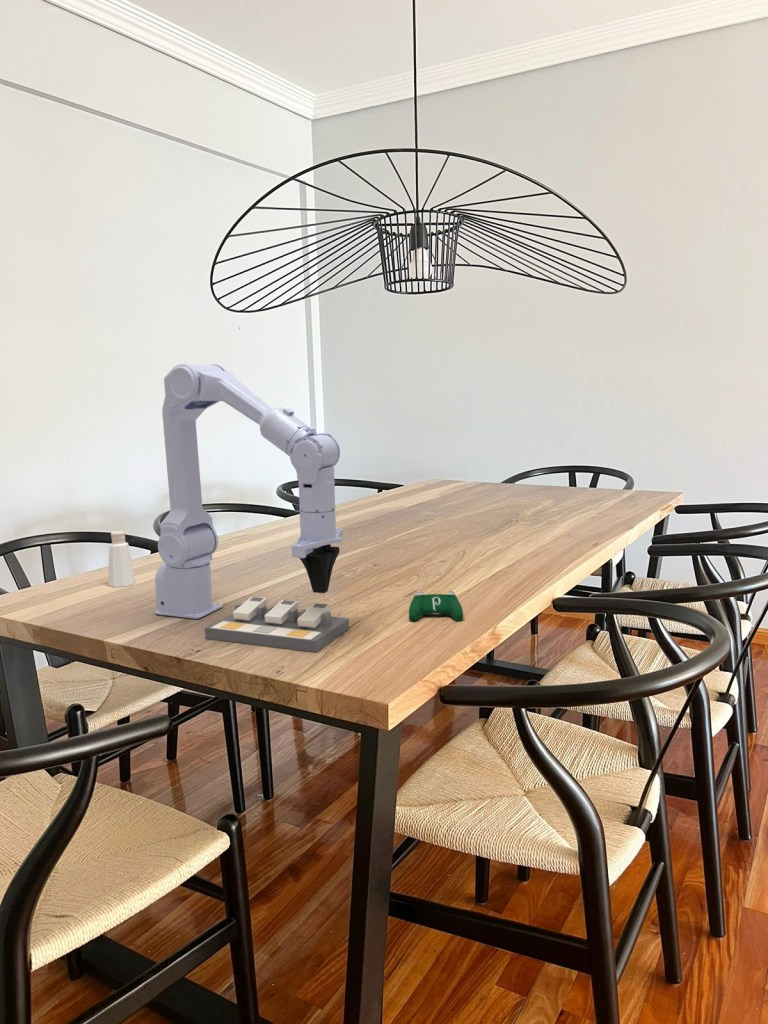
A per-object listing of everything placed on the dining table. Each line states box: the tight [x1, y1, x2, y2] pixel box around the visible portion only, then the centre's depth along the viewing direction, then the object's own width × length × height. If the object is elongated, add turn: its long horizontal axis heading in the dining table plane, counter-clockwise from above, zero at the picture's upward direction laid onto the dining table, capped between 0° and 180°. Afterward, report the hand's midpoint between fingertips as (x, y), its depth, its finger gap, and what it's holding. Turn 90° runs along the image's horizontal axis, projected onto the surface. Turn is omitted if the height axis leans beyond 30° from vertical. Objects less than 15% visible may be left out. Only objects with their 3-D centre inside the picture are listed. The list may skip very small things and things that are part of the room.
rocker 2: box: [265, 599, 300, 624], centre depth 130 cm, size 3×6×1 cm, turn 158°
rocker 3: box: [297, 602, 332, 628], centre depth 128 cm, size 3×6×1 cm, turn 158°
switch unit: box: [204, 602, 350, 653], centre depth 129 cm, size 20×12×4 cm, turn 68°
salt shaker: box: [107, 530, 136, 588], centre depth 162 cm, size 5×5×11 cm
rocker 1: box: [232, 596, 268, 620], centre depth 132 cm, size 3×6×1 cm, turn 158°
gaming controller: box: [408, 590, 464, 622], centre depth 136 cm, size 9×4×6 cm
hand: (320, 591), depth 129 cm, fingers closed
